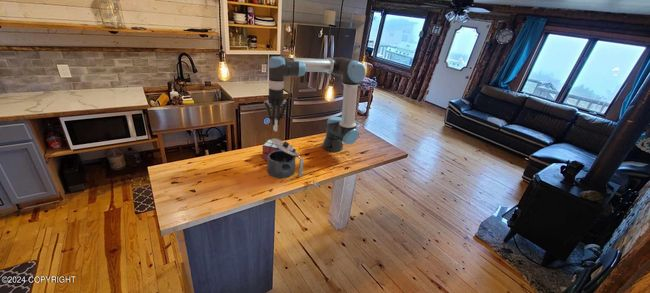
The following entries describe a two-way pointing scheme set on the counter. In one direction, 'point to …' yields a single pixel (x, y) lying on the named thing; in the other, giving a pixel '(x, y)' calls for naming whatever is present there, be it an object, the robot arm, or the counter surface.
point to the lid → (285, 147)
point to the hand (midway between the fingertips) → (275, 130)
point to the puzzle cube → (268, 149)
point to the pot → (282, 164)
